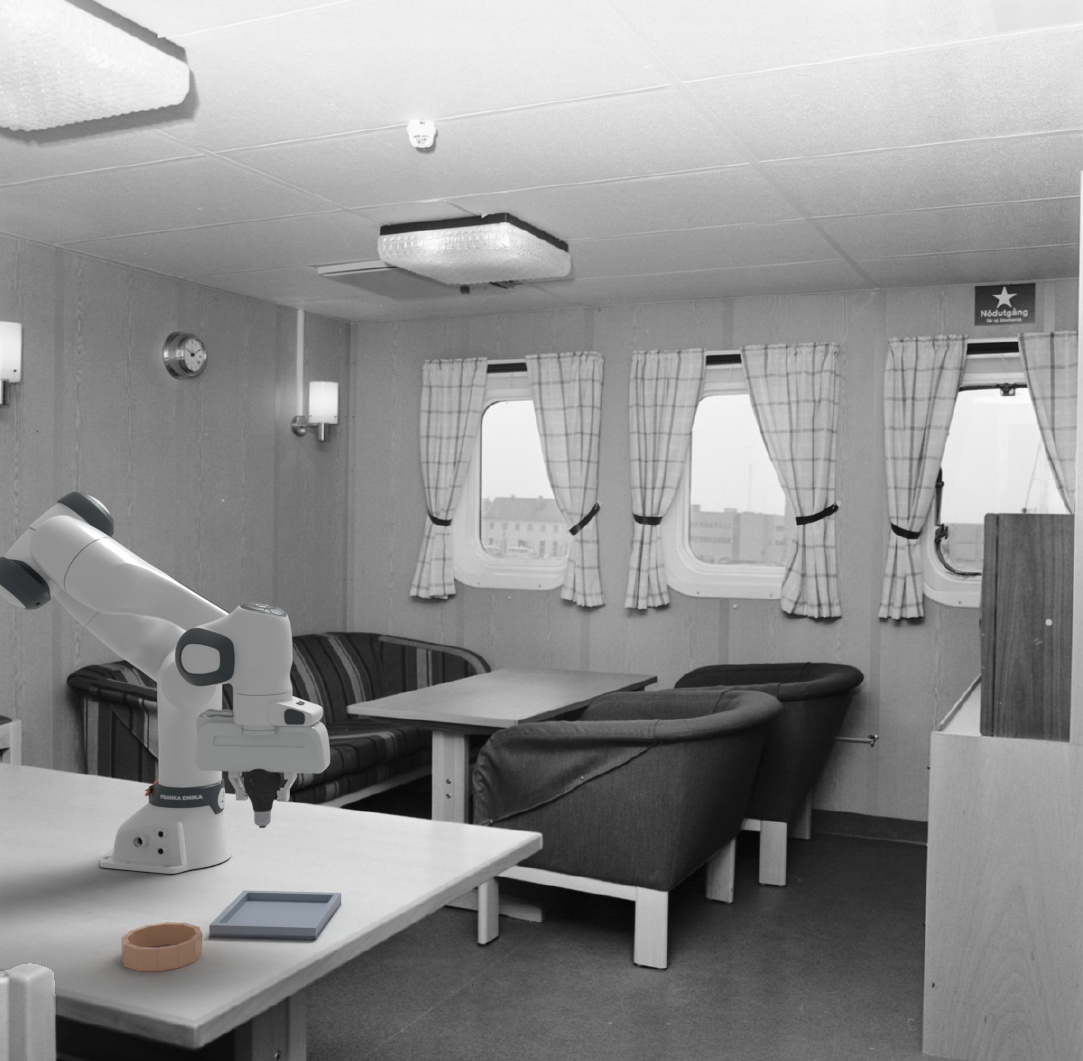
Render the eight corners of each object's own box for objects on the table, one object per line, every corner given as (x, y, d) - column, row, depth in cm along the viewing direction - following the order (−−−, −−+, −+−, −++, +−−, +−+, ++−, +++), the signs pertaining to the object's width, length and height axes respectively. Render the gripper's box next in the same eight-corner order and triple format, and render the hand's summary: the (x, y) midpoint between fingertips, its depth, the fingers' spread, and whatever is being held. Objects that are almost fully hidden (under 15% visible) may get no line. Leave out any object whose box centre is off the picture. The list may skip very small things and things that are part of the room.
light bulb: (247, 822, 181) (247, 758, 181) (283, 822, 181) (283, 758, 181) (240, 832, 175) (240, 766, 175) (278, 832, 176) (278, 765, 176)
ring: (109, 969, 161) (109, 948, 161) (140, 941, 171) (140, 921, 171) (184, 972, 160) (185, 950, 160) (211, 943, 170) (211, 923, 170)
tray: (209, 936, 173) (209, 924, 173) (243, 901, 189) (243, 890, 189) (315, 939, 172) (315, 927, 172) (341, 903, 188) (341, 892, 188)
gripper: (188, 712, 176) (188, 803, 176) (322, 714, 174) (322, 807, 175) (204, 705, 182) (204, 793, 182) (333, 707, 181) (332, 796, 181)
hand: (262, 800), depth 178 cm, fingers closed on light bulb, 5 cm apart
